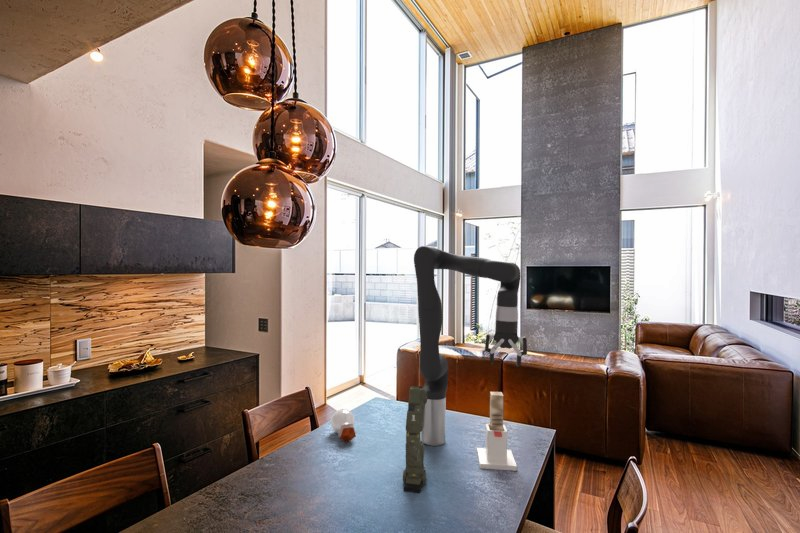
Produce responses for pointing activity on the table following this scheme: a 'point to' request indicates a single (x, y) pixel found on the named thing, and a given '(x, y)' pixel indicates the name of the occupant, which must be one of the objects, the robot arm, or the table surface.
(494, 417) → the post
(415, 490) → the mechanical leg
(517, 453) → the table surface
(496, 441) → the sleeve stand
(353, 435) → the potion bottle
